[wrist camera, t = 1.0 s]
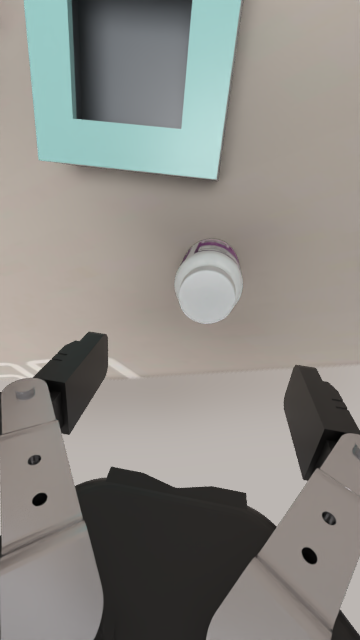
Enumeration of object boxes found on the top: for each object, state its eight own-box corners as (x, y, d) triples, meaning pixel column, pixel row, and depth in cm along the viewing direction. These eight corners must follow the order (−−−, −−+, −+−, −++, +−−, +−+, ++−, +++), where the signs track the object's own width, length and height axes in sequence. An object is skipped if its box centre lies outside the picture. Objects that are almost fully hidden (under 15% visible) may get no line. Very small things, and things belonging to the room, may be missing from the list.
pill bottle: (207, 301, 30) (200, 346, 22) (173, 262, 29) (151, 294, 21) (250, 268, 28) (261, 304, 20) (215, 225, 27) (211, 243, 19)
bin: (247, -27, 20) (255, -106, 15) (217, 180, 26) (216, 179, 20) (67, -37, 21) (13, -113, 16) (76, 165, 27) (38, 160, 21)
